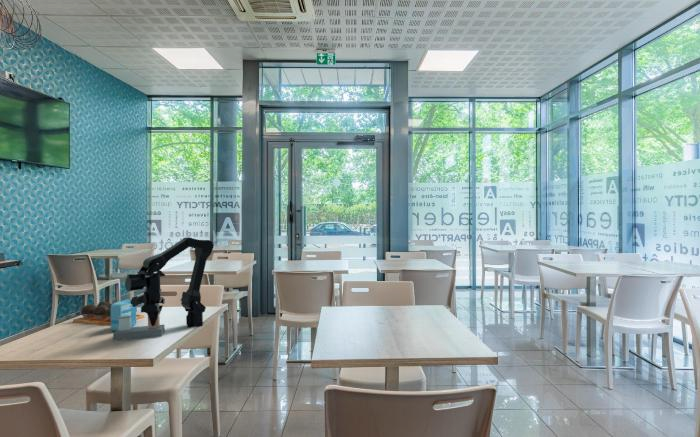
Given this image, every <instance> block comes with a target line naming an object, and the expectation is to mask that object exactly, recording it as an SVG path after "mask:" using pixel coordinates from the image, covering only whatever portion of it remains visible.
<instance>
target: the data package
mask: <svg viewBox="0 0 700 437" xmlns="http://www.w3.org/2000/svg"><path fill="white" fill-rule="evenodd" d="M130 300H131V299H123V300H120V301H116V302H117V303H115V302H112V303H113V304H112V303H111V304H112V305H111V325H110V330H111V331H113V332H115V331H116V330H117V329H118V328H119V319H118V317H119V316H123V315H131V327H135V326H136V324H137V320H136V315H137V312H136V310H137V309H136V308H137V306H136V307H133V306H132V304H131V301H130Z"/></svg>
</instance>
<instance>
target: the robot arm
mask: <svg viewBox="0 0 700 437" xmlns="http://www.w3.org/2000/svg"><path fill="white" fill-rule="evenodd" d="M188 248H191V249H194V255H195V259H194V260H195V261H194V265H193V269H192V273H191V276H190V281H189V286H188V289H187V290H186V291H182V295H181V298H180V304H181V306H182V307H183V308H184V310H185V312H187V315H186V318H185V321H186V322H185V323H186V326H187V328H192V327H202V326H203V325H204V315H203V314H204V313H205V312H206V309H207V307H206V306H205V305H204V304H203V303H202V302H201V301H202V297H201V296H202V294H201V291H200V290H201V285H202V281H203V277H204V272H205V268H206V263H207V260H208V259H209V257H210V256H211V254H212V253H213V249H214V243H213V241H212V240H210V239H196V238H192V237H191V236H190V237H187V236H186V237H183V238H182V239H181V240H179V241H178V242H176V243H175V244H173V245H171V246H169V247H168V248H167V249H165V250H164V251H162V252H161V253H158V254H155V255H152V256H149V257H147V258H145V259H144V260H143V263H142V266H141V267H140V269H139V271H137V273H133V274H132V273H128V274H126V279H125V281H124V288H125V290H126V292H133V291H134V292H135V291H140V290H144V288H145V291H143V294H141V295H135V296H133V297H131V299H129V300H130V301H131V304H132V306H133V307H136V308H137V306H140V305H142V304H143V305H142V306H141V307H140V313H144V314H148V315H147V317H148V316H149V319H150V322H151V325H152V326H154V325H155V323H156V320H157V317H158V314H159V316H160V315H161V312H162V310H163V307H164V304H165V303H166V301H165V300H166V299H165V298H164V297H163V296H161V293H162V288H161V277H166V274H165V273H164V272H162V269H163V268H164V267H165V266H166V265H167V263H168V262H169V261H171V260H172V259H173V258H175V257H176V256H178V255H179V254H181V253H182V252H183V251H185V250H187V249H188ZM160 304H161V305H160ZM159 311H160V313H159Z"/></svg>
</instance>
